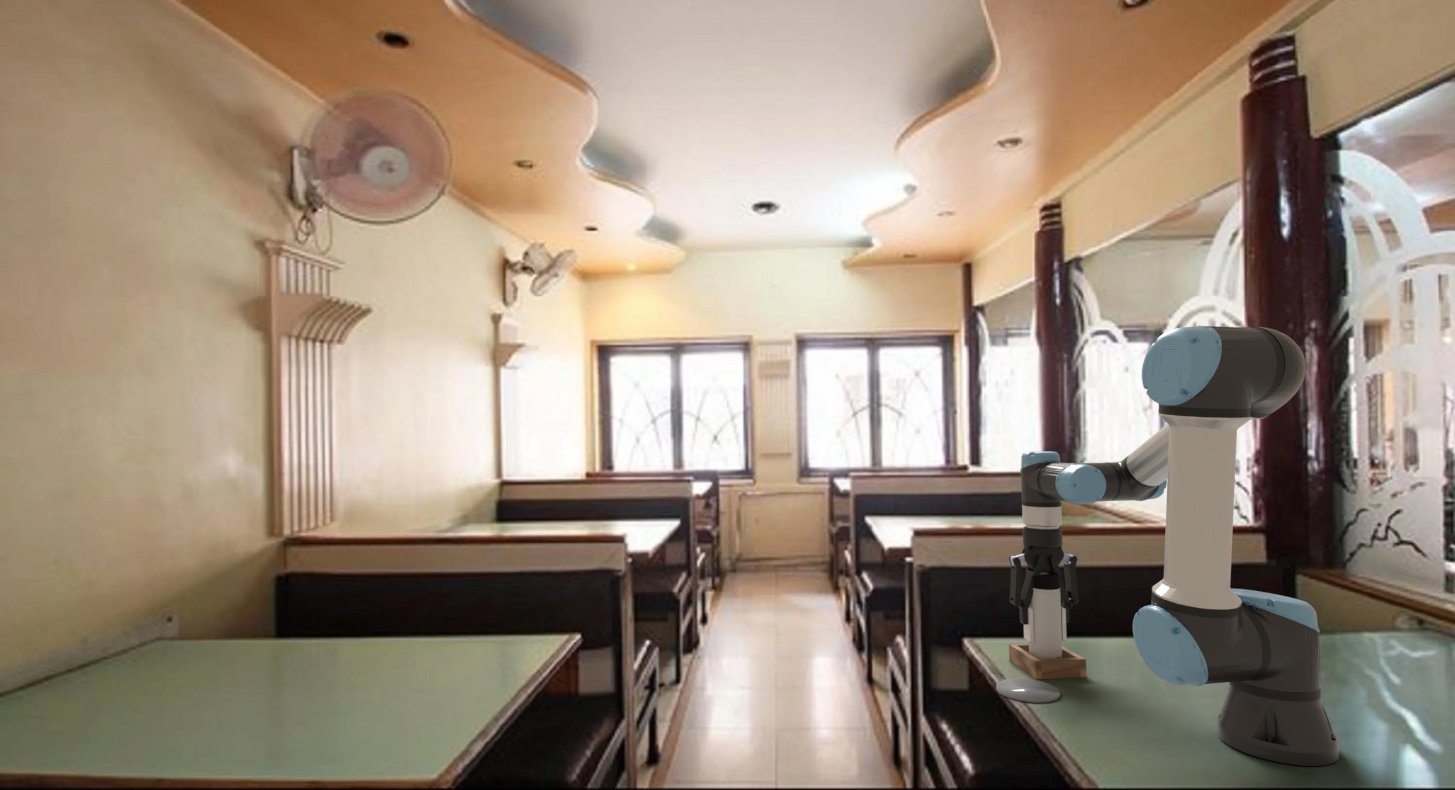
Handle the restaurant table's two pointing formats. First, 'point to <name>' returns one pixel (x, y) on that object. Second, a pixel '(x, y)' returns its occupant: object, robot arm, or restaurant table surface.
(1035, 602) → the travel mug
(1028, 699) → the grey round disc
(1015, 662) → the brown open square frame
